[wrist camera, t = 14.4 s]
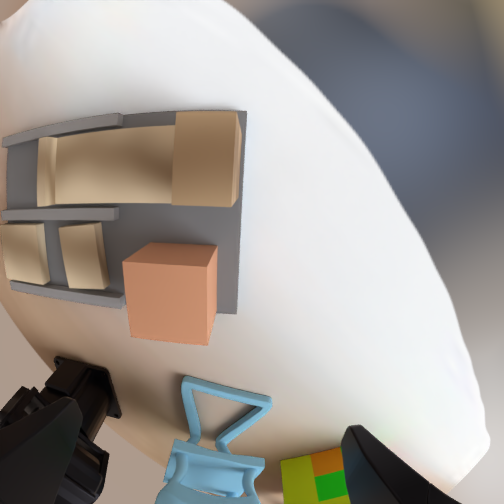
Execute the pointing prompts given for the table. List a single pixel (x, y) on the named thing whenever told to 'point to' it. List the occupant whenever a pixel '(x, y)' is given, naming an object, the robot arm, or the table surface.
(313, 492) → the puzzle toy
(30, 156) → the lane bed
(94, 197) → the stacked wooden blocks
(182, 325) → the cube
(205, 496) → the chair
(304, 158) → the table surface
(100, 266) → the pair of tan slabs
